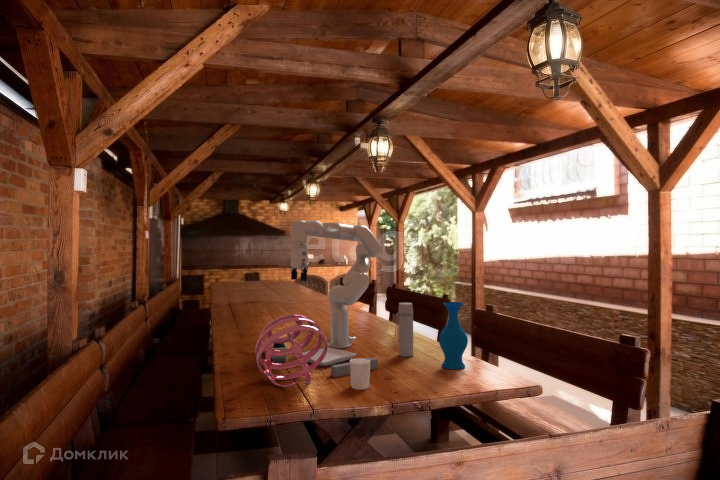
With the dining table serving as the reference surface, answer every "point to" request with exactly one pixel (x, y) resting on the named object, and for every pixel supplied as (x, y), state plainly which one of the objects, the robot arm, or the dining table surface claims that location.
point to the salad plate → (331, 356)
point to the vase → (453, 339)
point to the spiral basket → (295, 348)
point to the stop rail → (345, 368)
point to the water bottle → (405, 329)
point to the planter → (279, 347)
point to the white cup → (360, 373)
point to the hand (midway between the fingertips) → (298, 280)
